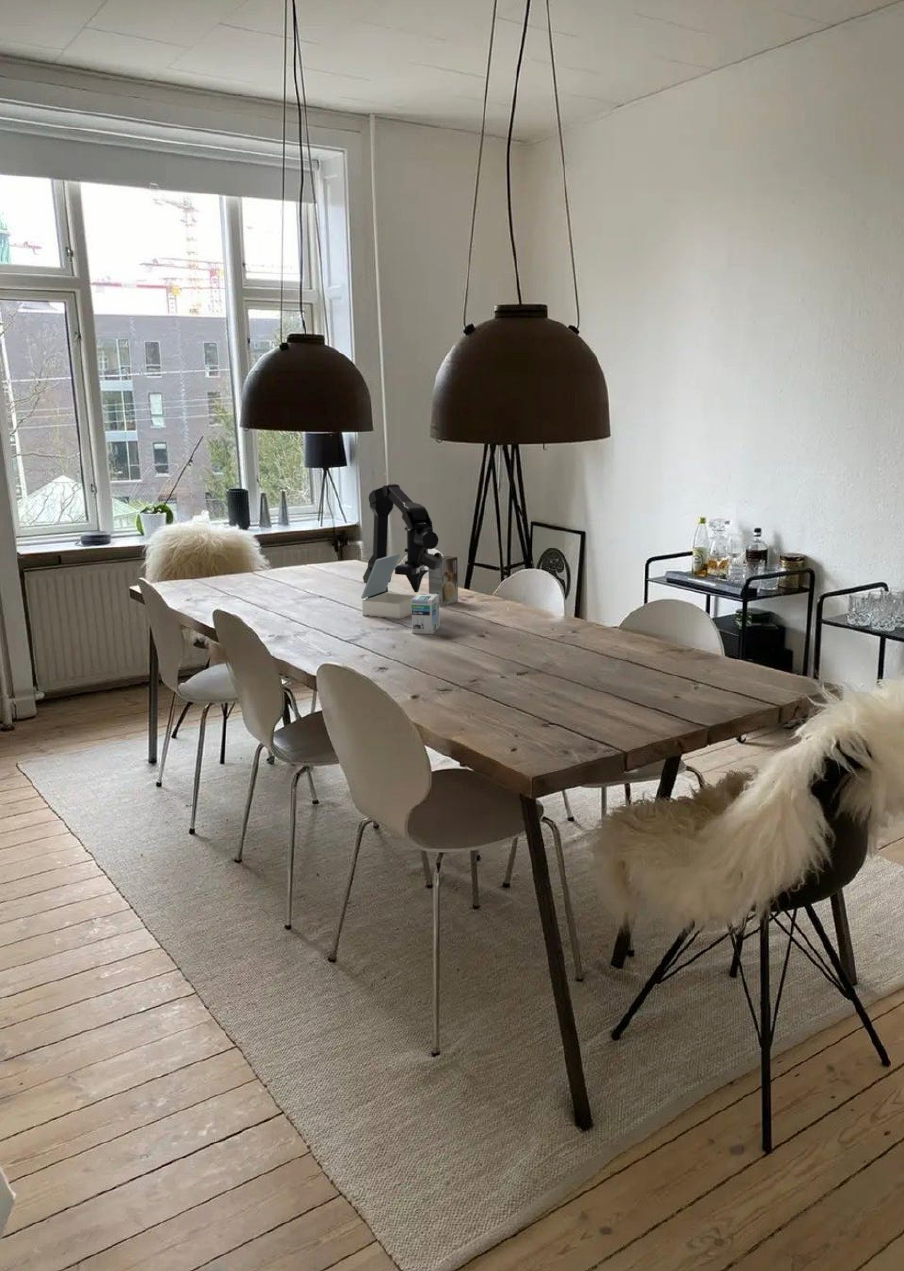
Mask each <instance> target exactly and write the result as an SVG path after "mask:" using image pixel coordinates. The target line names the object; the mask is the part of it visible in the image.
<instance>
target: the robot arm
mask: <svg viewBox="0 0 904 1271" xmlns="http://www.w3.org/2000/svg"><path fill="white" fill-rule="evenodd" d="M368 502H369V508H370V510H371V511H372V514H373V539H372V540H373V541H372V542H373V543H372V545H373V546H372V555H371V557H370V558H369V560H368V561H367V568H366V570H365V572H364V573H363V576H362V579H363V583H364V584H365V585H366V584H367V581H368V579H369V576H370V574H371V571H372V569H373V566H374V564H375V561H376V560H377V559H380V558H384V557H387V556H388V531H389V529H388V528H389V527H388V526H389V515H390V513H392V511H393V509H394V505H395V507H397V508H398V510H399V511H400V512H401V519H402V521H403V522H404V524H406V526H405V527H404V531H406V546H407V547H406V548H404V552H405V553H406V556H407V559H406V560H405V561H404V563H402V564H398V565H396V566H395V568H394V574H395V575H400V576H406V578H407V581H409V584H410V586H411V588H412V591H413V592H414V593H419V592H420V591H419V590H420V587H421V584H422V580H423V578H424V575H425V574H427V573H428V571H429V570H428V569H426V567H427V568H428V567H429V569H432V570H435V569H438V568H439V565H440V563H442V556H443V555H442V553H441V552H435V553H434V554H433V553H429V550H434V549H435V548H436V547H437V546H438V543H439V537H438V534H437V533H436V532H434V530H433V529H434V526H433V521H432V519H431V517H430V514H429V513H428V510H427V509H426V507H425V506H423V505H422V504H420V503H417V502H414V501H412V500H411V498H410V497H409V496H408V495H407V494H406V493H405V492H404V491H403V490H402V489H401V487H400V484H397V483H394V484H393V483H392V484H391V483H390V484H385V485H383V486H382V487H380V488H379V487H378V488H377V489H373V490H371V492H369V495H368ZM391 580H392V577H391V578H390V581H389V583H391ZM386 592H388V593H389V586H387V588H386V590H385V591H384V592H381V593H378V594H375V595H372V596H369V597H366V598H365V600H366V599H369V598H372V597H375V596H377V595H380V594H383V593H386Z"/></svg>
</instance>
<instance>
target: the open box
mask: <svg viewBox="0 0 904 1271" xmlns="http://www.w3.org/2000/svg"><path fill="white" fill-rule="evenodd" d="M417 595H418V594H410V593H409V594H408V593H400V592H399V593H397V592H389V591H388V592H386V593H383V594H380V595H377V596H375V597H372V598H369V599H366V598H365V599H362V601H361V602H362V616H363V615H369V616H368V617H372V616H378V617H377V618H382V617H386V618H385V619H392V618H395V619H394V620H401V619H403V617H404V618H407V617H408V615H409V616H412V601H411V600H412V599H413V598H414V597H415V596H417Z"/></svg>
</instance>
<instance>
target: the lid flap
mask: <svg viewBox="0 0 904 1271" xmlns="http://www.w3.org/2000/svg"><path fill="white" fill-rule="evenodd" d="M400 555H401V553H398V552H397V553H395V554H391V555H387V557H384V558H380V559H377V560H376V561H375V564H374V566H373V569H372V571H371V574H370V576H369V579H368V581H367V584H366V583H365V587H364V589H363V592H362V595H361V597H360V598H361V599H362V600H364V599H366V598H368V597H369V596H372V595H375V594H378V593H381V592H384V591H385V590H386V588H387V587H389V586H388V585H389V583H390V582H391V581H390V578H391V579H392V575H393V573H394V572H395V568H396V566H397V563H398V560H399V559H400ZM389 581H390V582H389Z"/></svg>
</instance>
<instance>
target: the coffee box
mask: <svg viewBox="0 0 904 1271" xmlns="http://www.w3.org/2000/svg"><path fill="white" fill-rule="evenodd" d="M427 568H428V569H427V570H429V571H428V572H427V573H428V575H427V576H428V594H439V606H442V607H443V606H447V605H450V604H453V603H457V602H458V601H459V587H458V586H459V583H458V582H459V580H458V556H450V555H442V563H440V565H439V568H438V569H435V570H432V569H429V567H427Z"/></svg>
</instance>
